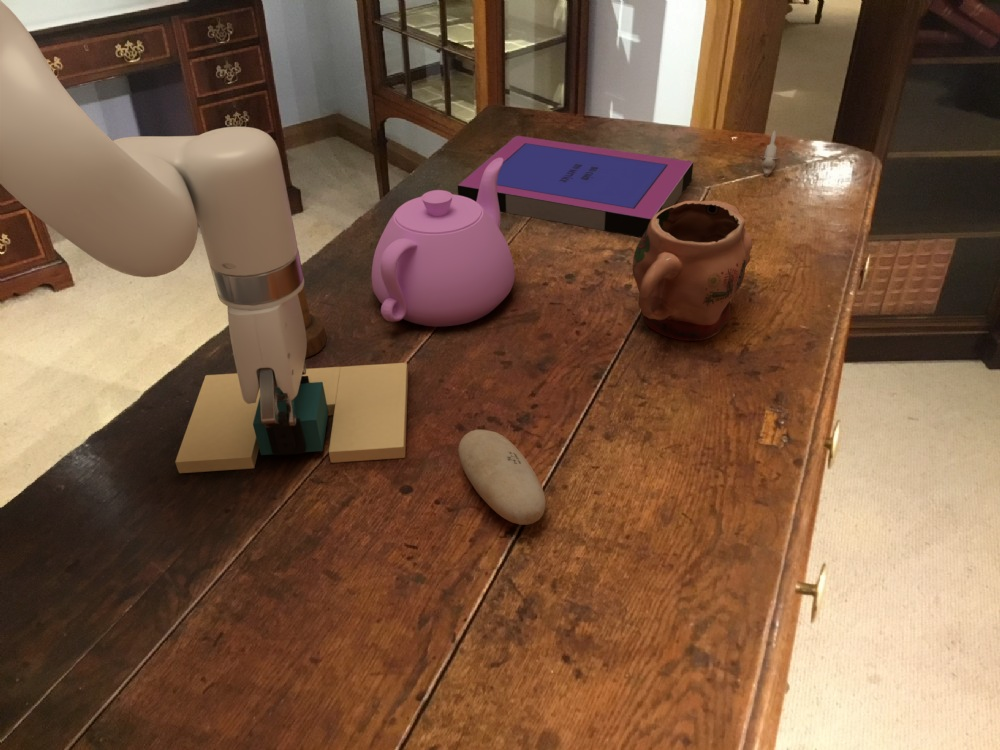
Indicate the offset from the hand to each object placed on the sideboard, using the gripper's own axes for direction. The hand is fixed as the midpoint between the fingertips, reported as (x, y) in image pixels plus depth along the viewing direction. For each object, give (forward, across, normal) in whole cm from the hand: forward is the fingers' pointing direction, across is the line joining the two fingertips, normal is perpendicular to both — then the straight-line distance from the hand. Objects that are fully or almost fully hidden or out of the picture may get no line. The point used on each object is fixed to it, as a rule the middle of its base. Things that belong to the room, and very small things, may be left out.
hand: (294, 428), depth 85 cm
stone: (+2, +10, +20) cm, 22 cm away
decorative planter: (+2, -16, +43) cm, 46 cm away
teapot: (+2, -27, +16) cm, 32 cm away
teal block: (+1, 0, 0) cm, 1 cm away
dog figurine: (+2, -58, +67) cm, 89 cm away
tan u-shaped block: (+2, -3, 0) cm, 4 cm away
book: (+2, -54, +36) cm, 65 cm away
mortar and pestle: (+2, -17, -2) cm, 18 cm away
